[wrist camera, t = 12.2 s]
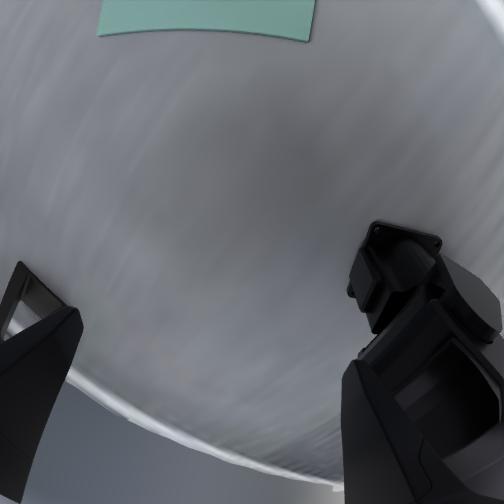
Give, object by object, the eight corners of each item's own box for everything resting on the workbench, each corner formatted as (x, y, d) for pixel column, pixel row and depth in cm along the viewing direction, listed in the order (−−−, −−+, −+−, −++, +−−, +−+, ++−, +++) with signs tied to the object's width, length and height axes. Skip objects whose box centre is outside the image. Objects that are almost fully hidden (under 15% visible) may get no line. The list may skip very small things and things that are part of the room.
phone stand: (12, 287, 27) (-42, 351, 17) (20, 259, 25) (-47, 330, 14) (63, 334, 30) (18, 408, 19) (76, 313, 27) (22, 397, 17)
